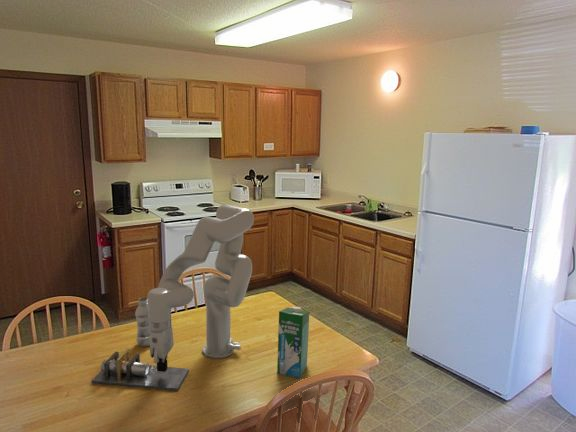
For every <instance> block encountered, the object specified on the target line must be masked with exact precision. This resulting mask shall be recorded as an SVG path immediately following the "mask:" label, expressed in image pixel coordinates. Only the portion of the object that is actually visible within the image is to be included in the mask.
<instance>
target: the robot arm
mask: <svg viewBox="0 0 576 432" xmlns="http://www.w3.org/2000/svg"><path fill="white" fill-rule="evenodd" d="M254 216H255V215H254V213H253V211H251V210H250V209H248V208H245V207H239V206H235V205H232V204H231V205H230V204H222V205H220V206H218V207H217V209H216V212H215V217H212V216H203V217H201V218H200V219H199V220H198V222H197V224H196V225H195V228H194V229H193V231H192V235H191V236H190V239H189V241H188V242H187V245H186V246H185V249H184V251H183V252H182V253H181V254H179V255H178V256H177V257H176V258H175V259H174V260H172V261H171V263H169V264H168V265H167V267H166V269H165V271H164V272H163V274H162V276H161V278H160V280H159V283H158V286H157V287H156V288H155V287H154V288H152V289H150V290H149V291H148V292H147V299H148V316H149V329H150V345H149V354H150V358H153V363H154V364H156V366H157V371H161V372H166V370H167V367H168V354H169V353H170V351H171V350H172V349H173V348H174V346H175V345H174V344H175V343H174V332H173V326H172V309H174V308H180V307H184V306H187V305H189V304H191V302H192V301H193V299H194V296H195V293H194V290H193V289H192V288H191V286H188V285H187V284H184V283H182V282H179V280H180V278H181V276H182V275H183V274H184V273H185V272H186V271H187V270H189V268H191V267H194V266H197V265H200V264H204V263H206V261H207V259H208V257H209V254H210V252H211V250H212V248H213V246H214V243H217V244H218V243H219V244H220V246H219V247H218V252H217V254H216V258H215V262H214V268H215V270H216V271H218V273H221V274H223V275H226V276H228V277H230V278H226V277H224V276H220V275H212V276H209V277H208V278H207V279H206V280H205V282H204V284H203V295H204V300H205V311H206V313H205V314H206V315H205V316H206V318H205V320H206V321H205V322H206V325H205V327H206V344H205V345H203V347H202V353H203V356H205V357H207V358H209V359H216V360H217V359H224V358H227V357H229V356H230V355H232V354H233V353H234V352H235V350H236V351H241V348H242V347H241V344H240V343H239V341H233V338H232V337H231V308H236V307H239V306H240V305H241V304H242V303H243V301H244V299H245V297H246V296H245V295H246V293H247V290H248V287H249V284H250V280H251V277H252V273H253V262H252V259H251V258H250V257H249V256H248V255H245V254H242V248H243V245H244V233H246V232H247V231H249V230H250V229H251V228H252V227H253V225H254V222H255V217H254Z"/></svg>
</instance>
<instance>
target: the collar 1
mask: <svg viewBox="0 0 576 432" xmlns="http://www.w3.org/2000/svg"><path fill="white" fill-rule="evenodd" d="M119 353H120V351H115V352H114V353H112V355H110V356H109V357H108V359H106V360H107V361H106V362H105V363H104V369H105V378H109V377H110V367H109V364H110V363H111V361H112V360H115V361H117V359H118V358H119V356H120V354H119Z"/></svg>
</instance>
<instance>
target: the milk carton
mask: <svg viewBox="0 0 576 432" xmlns="http://www.w3.org/2000/svg"><path fill="white" fill-rule="evenodd" d="M309 330H310V311H308V310H303V309H302V307H300V306H290V307H286V308H284V309H282V310H280V311H278V335H277V343H278V344H277V367H276V371H277V372H276V373H277V374H279V373H280V374H279V375H283V374H285V375H284V376H287V375H290V376H289V377H292V376H294V377H293V378H296V377H298V378H297V379H301V378H302V376H301V375H303V374H304V372H305V370H306V368H307V366H308V351H309V350H308V349H309V334H310V333H309Z"/></svg>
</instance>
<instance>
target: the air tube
mask: <svg viewBox="0 0 576 432" xmlns="http://www.w3.org/2000/svg"><path fill="white" fill-rule="evenodd" d="M107 360H108V359H103V361H102V362H101V365H100V371H104V372H105V369H104V363H105V362H106V361H107ZM127 364H128V362H126V360H124V361H122V360H121V372H122V374H123V373H126V365H127ZM109 367H110V372H116V373H117V361H115V360H114V359H113V360H112V361H111V363H110V364H109ZM148 370H149V363H147V362H140V363H138V362H134V363H133V364H132V365H131V374H138V375H146V374H147V373H148Z"/></svg>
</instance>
